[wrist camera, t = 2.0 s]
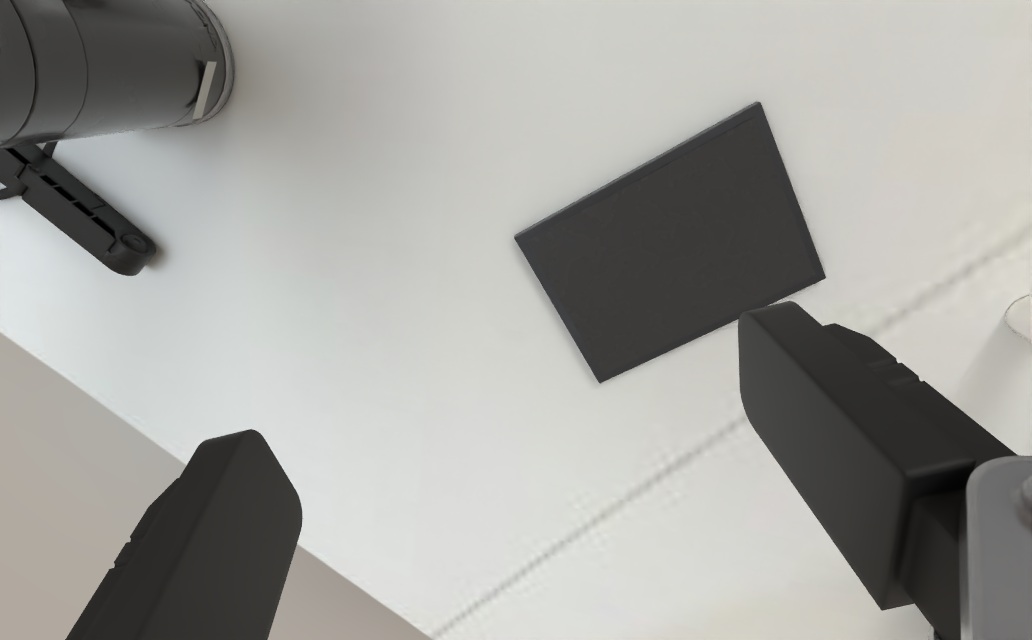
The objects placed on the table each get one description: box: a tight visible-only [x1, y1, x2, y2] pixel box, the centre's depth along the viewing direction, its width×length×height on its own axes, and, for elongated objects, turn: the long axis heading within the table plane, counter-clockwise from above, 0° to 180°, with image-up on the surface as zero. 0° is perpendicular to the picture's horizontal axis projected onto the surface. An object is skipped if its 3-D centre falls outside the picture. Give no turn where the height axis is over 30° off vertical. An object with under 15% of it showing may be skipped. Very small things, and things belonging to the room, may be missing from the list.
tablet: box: [514, 102, 826, 383], centre depth 44 cm, size 20×15×1 cm
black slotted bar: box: [0, 144, 156, 276], centre depth 42 cm, size 18×3×3 cm, turn 43°
